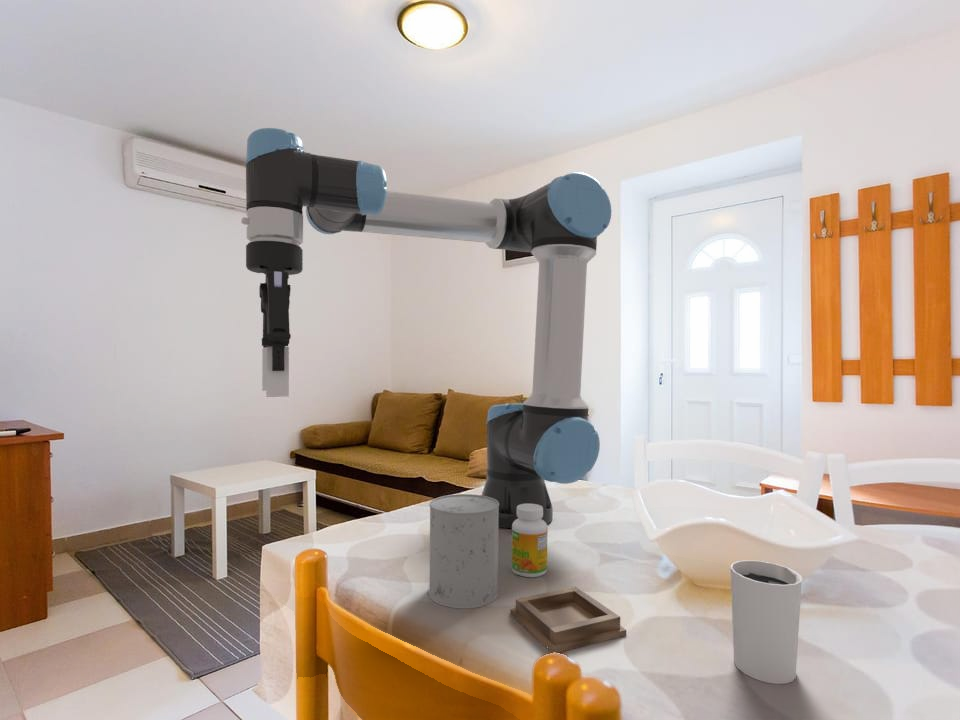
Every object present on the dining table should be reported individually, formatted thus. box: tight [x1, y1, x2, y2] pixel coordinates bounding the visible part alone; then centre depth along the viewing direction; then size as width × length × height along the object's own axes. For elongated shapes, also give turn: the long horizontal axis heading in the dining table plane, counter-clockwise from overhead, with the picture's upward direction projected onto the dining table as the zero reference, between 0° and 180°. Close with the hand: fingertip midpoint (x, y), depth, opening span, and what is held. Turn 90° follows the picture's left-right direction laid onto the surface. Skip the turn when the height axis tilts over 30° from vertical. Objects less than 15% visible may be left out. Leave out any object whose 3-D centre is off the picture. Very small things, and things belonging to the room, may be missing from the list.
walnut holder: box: [509, 586, 627, 654], centre depth 65 cm, size 10×10×2 cm
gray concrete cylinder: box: [428, 493, 499, 610], centre depth 73 cm, size 10×10×12 cm
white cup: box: [730, 559, 803, 685], centre depth 56 cm, size 7×7×10 cm
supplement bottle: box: [511, 504, 549, 578], centre depth 81 cm, size 5×5×10 cm
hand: (274, 393), depth 76 cm, fingers open, 13 cm apart
